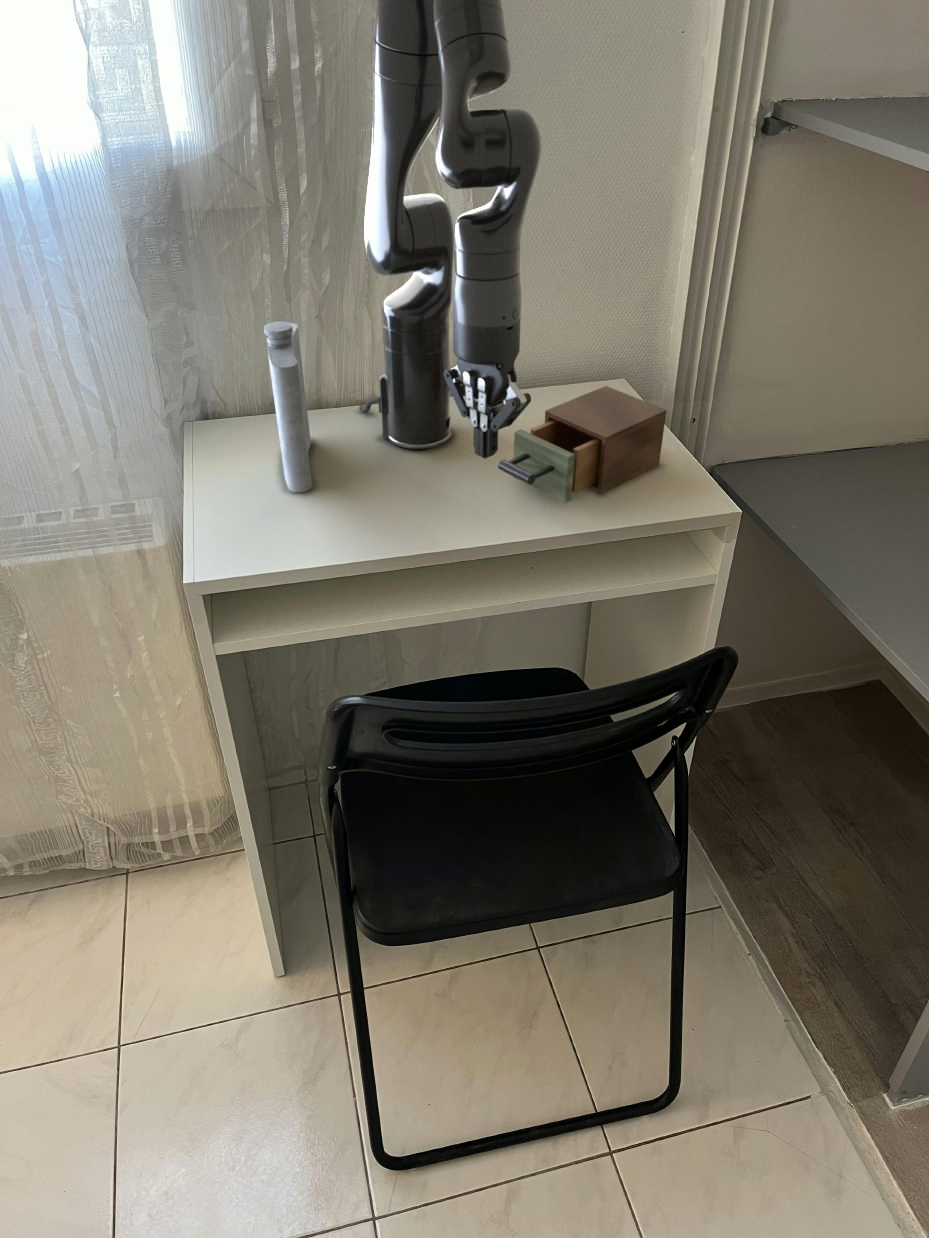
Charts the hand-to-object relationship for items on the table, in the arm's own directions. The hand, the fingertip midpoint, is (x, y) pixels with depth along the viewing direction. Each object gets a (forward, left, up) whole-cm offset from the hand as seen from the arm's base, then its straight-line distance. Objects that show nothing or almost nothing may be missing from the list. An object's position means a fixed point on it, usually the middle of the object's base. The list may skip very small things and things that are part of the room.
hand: (485, 454), depth 114 cm
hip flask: (-30, +4, -10) cm, 32 cm away
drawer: (+5, +12, -9) cm, 16 cm away
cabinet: (+9, +20, -10) cm, 24 cm away
